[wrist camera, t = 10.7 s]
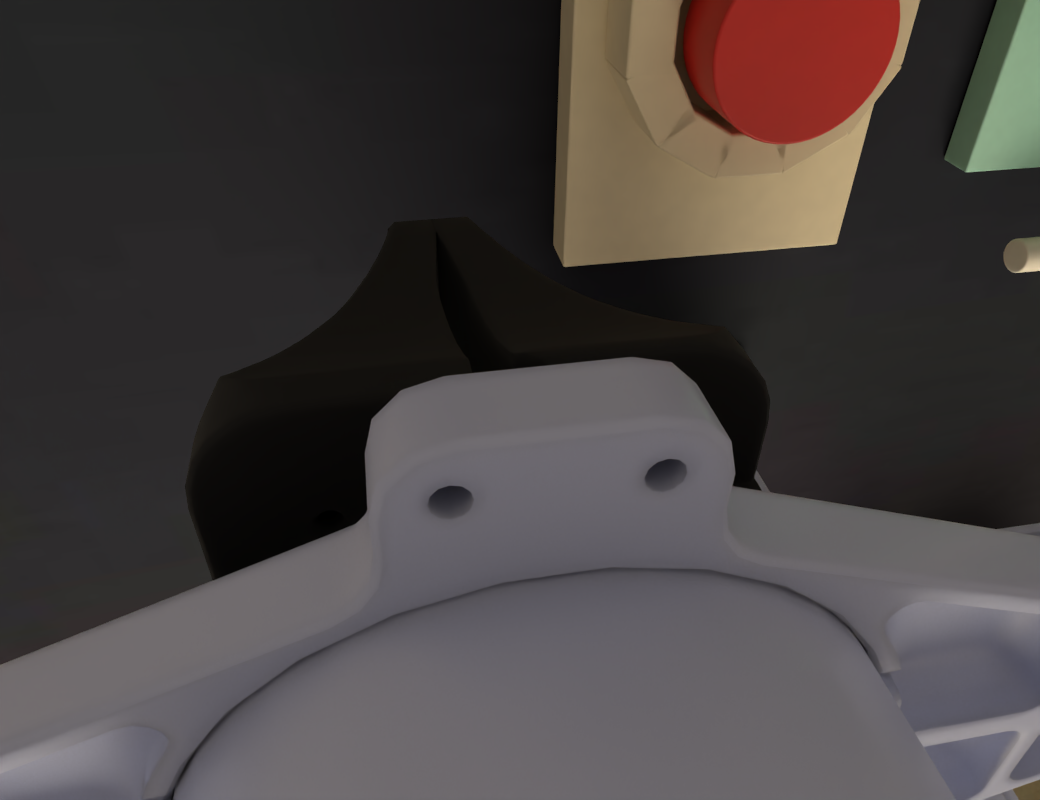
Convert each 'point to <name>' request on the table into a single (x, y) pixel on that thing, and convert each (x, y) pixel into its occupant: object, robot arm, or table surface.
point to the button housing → (681, 149)
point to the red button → (788, 61)
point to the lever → (1023, 255)
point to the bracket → (1002, 95)
